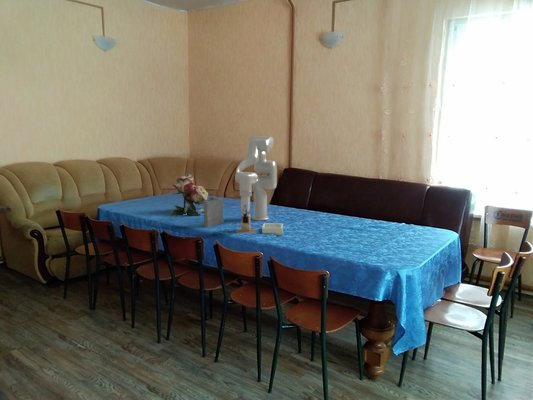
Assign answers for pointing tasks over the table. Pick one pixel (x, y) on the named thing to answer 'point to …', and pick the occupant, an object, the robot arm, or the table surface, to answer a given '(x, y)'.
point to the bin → (273, 228)
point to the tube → (246, 224)
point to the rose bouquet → (189, 195)
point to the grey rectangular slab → (213, 212)
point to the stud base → (246, 231)
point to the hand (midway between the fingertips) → (246, 221)
